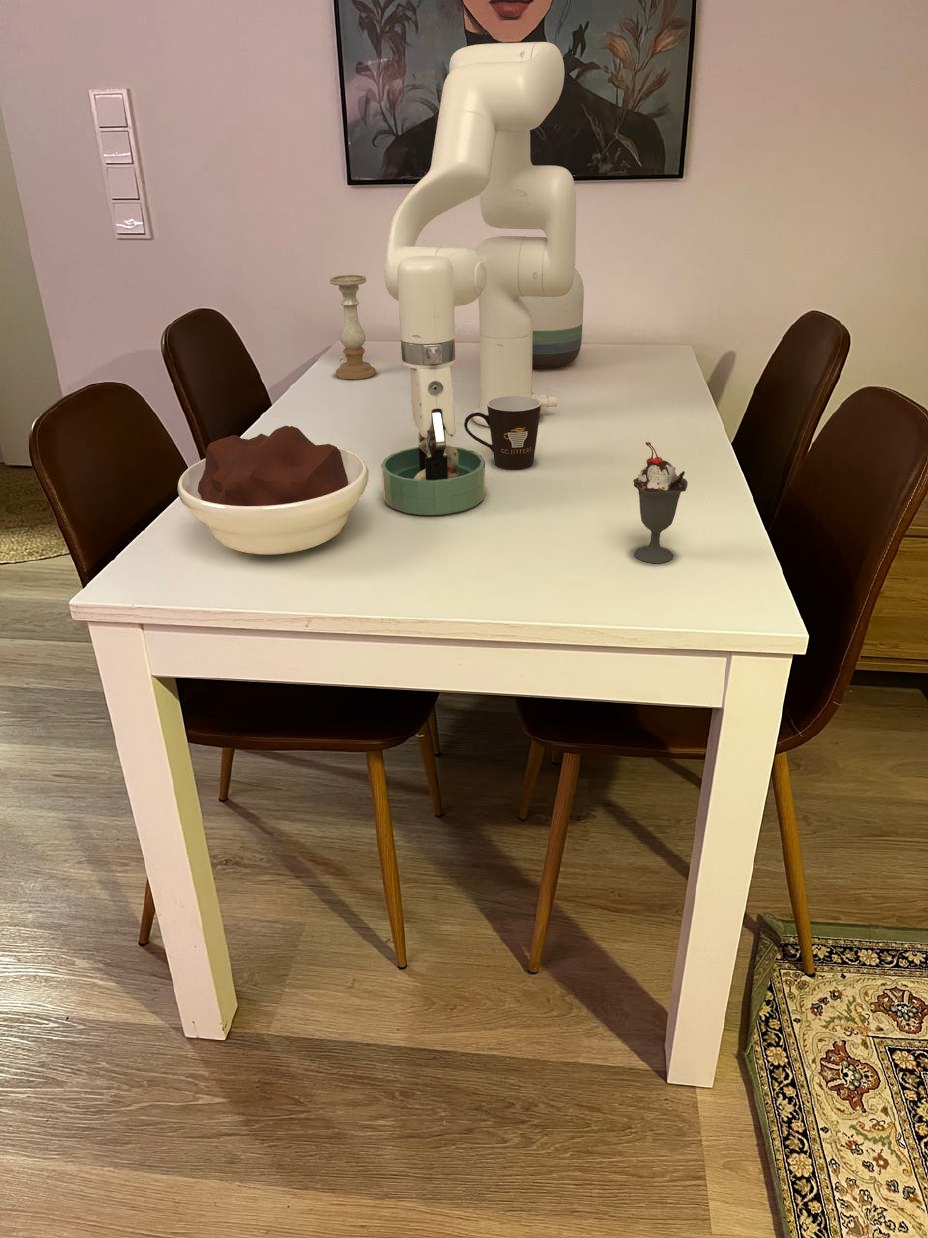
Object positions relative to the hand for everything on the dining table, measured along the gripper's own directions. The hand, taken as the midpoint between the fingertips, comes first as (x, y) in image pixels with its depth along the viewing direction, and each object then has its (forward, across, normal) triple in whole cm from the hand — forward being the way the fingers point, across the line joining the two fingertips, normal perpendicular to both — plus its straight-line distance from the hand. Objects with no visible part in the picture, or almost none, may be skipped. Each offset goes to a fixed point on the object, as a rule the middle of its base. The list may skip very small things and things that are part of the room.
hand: (433, 474), depth 135 cm
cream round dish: (+4, -9, +23) cm, 25 cm away
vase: (+4, +72, -38) cm, 82 cm away
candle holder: (+4, +75, +4) cm, 75 cm away
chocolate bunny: (+3, 0, 0) cm, 3 cm away
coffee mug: (+4, +12, -14) cm, 19 cm away
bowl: (+4, 0, 0) cm, 4 cm away
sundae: (+4, -27, -24) cm, 36 cm away
